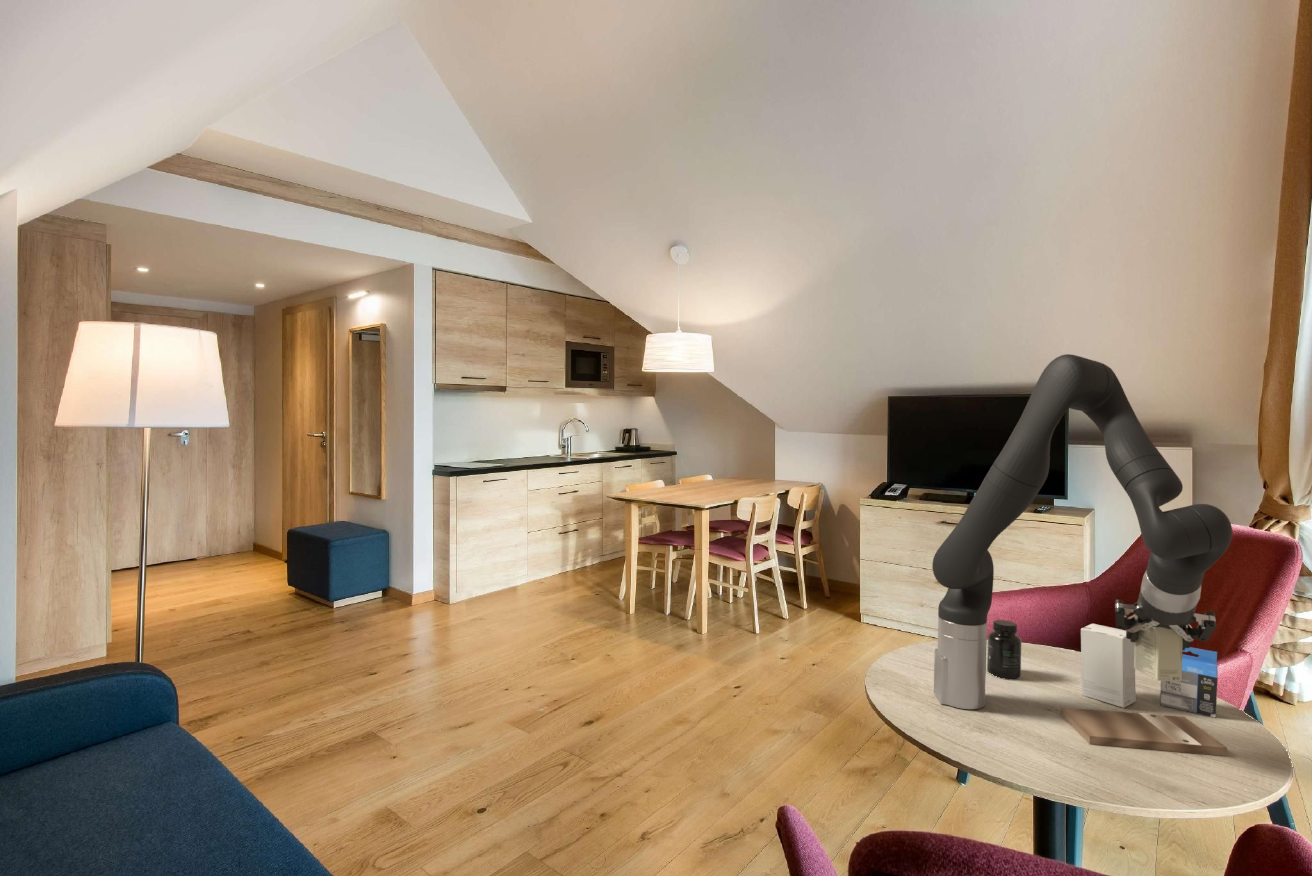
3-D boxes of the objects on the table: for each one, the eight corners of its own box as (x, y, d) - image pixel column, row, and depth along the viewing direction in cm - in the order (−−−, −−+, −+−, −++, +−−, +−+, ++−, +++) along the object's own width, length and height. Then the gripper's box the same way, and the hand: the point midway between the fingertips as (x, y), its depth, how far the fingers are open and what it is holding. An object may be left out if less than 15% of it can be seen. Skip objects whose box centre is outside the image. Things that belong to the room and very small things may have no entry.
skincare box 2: (1182, 682, 113) (1186, 613, 112) (1157, 681, 113) (1160, 612, 113) (1155, 668, 119) (1159, 602, 119) (1131, 667, 120) (1134, 601, 119)
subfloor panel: (1089, 744, 118) (1089, 735, 118) (1060, 714, 130) (1060, 706, 130) (1227, 756, 114) (1227, 746, 114) (1184, 724, 126) (1184, 715, 126)
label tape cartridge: (1159, 705, 134) (1161, 646, 134) (1160, 699, 137) (1162, 641, 137) (1216, 718, 129) (1218, 657, 128) (1215, 711, 132) (1217, 651, 131)
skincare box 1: (1135, 702, 136) (1138, 632, 135) (1123, 709, 132) (1125, 637, 132) (1091, 688, 143) (1093, 621, 142) (1078, 694, 139) (1080, 626, 139)
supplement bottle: (983, 667, 154) (984, 617, 154) (1014, 669, 153) (1016, 619, 152) (992, 678, 148) (993, 626, 147) (1025, 681, 146) (1026, 628, 146)
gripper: (1223, 578, 105) (1205, 630, 116) (1115, 566, 113) (1107, 616, 123) (1229, 619, 101) (1210, 669, 112) (1116, 604, 109) (1108, 652, 119)
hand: (1156, 641), depth 117 cm, fingers closed on skincare box 2, 6 cm apart
